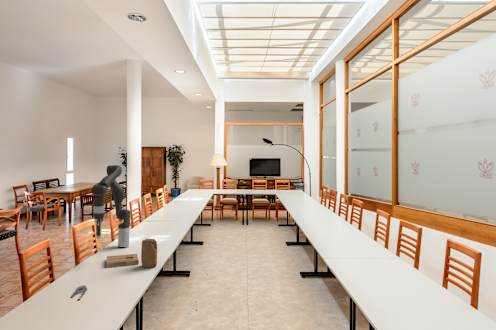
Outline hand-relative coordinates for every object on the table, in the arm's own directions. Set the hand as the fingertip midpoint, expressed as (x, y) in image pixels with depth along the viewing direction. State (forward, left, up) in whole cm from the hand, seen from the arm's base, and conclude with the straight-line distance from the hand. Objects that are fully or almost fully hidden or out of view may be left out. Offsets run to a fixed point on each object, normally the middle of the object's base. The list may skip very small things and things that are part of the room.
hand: (98, 234), depth 239 cm
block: (+22, +35, -21) cm, 46 cm away
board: (+6, +17, -21) cm, 28 cm away
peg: (0, 0, -3) cm, 3 cm away
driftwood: (+56, -8, -22) cm, 61 cm away
